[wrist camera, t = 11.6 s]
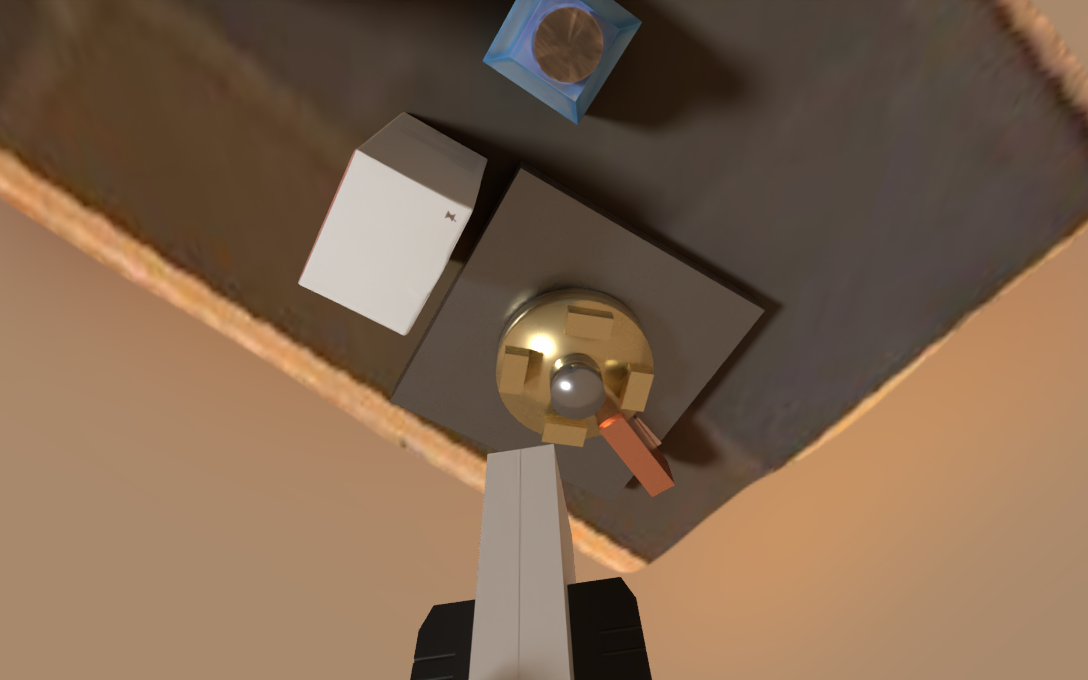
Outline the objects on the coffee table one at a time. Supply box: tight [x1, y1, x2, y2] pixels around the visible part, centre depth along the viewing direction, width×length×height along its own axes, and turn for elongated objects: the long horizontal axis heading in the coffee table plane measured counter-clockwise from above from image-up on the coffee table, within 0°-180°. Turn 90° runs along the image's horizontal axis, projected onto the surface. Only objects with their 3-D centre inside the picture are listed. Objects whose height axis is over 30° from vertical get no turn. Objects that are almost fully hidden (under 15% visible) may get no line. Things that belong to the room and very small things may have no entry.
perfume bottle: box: [483, 0, 642, 125], centre depth 35 cm, size 6×6×12 cm
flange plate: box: [390, 161, 765, 502], centre depth 46 cm, size 20×20×8 cm
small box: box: [298, 112, 487, 335], centre depth 38 cm, size 8×6×13 cm
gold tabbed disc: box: [496, 288, 675, 497], centre depth 47 cm, size 18×11×4 cm, turn 35°
